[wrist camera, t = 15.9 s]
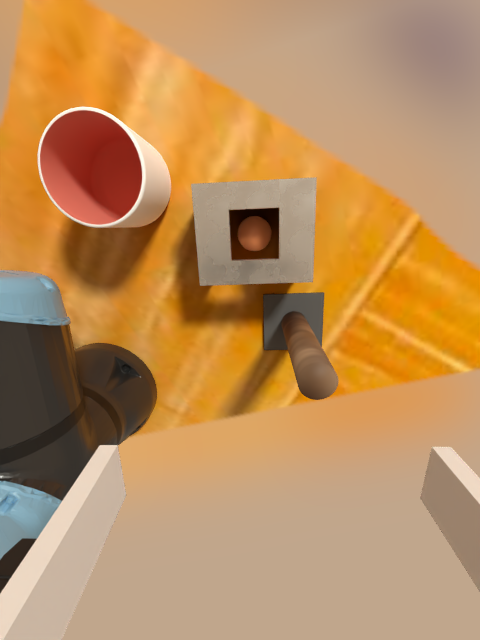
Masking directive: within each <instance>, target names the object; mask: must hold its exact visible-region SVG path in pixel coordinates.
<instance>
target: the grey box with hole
mask: <svg viewBox="0 0 480 640" xmlns="http://www.w3.org/2000/svg"><path fill="white" fill-rule="evenodd" d="M191 186H192V198H193V210H194V222H195V234H196V245H197V257H198V269H199V281H200V286H207V285H237V284H267V283H298V282H313V265H314V236H315V206H316V178H298V179H279V180H259V181H240V182H221V183H202V184H191ZM268 208H279V258H268V259H242V260H232V253H231V232H230V212H229V210H246V209H268Z"/></svg>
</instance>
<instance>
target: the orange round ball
mask: <svg viewBox="0 0 480 640" xmlns="http://www.w3.org/2000/svg"><path fill="white" fill-rule="evenodd" d="M238 239H239V242H240V244H241V245H242V246H243V247H244V248H245V249H247V250H249V251H259V250H262V249H263V248H265V247H266V246H267V245H268V243H269V242H270V239H271V228H270V225H269V224H268V222H267V221H266V220H265V219H263V218H261V217H258V216H251V217H248V218H246V219H245V220H244V221H243V222H242V223H241V224H240V226H239V228H238Z"/></svg>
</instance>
